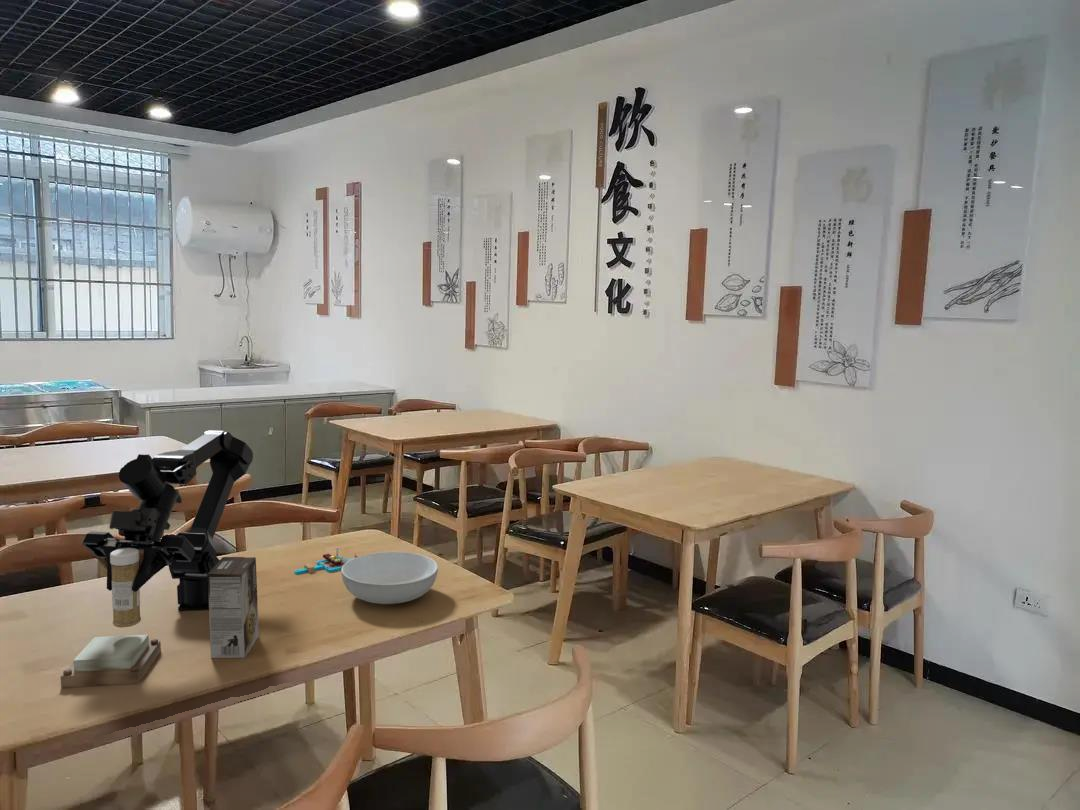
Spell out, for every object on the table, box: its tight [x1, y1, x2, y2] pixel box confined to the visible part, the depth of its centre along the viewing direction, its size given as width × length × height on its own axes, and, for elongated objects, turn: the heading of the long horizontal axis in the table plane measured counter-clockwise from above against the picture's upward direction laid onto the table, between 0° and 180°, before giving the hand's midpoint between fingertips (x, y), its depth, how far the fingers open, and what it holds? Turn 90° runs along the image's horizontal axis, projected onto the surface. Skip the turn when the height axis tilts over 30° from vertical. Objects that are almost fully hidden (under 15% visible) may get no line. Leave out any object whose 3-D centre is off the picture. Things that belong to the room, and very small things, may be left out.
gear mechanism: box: [293, 547, 364, 575], centre depth 189 cm, size 20×5×9 cm
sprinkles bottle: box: [110, 548, 142, 629], centre depth 138 cm, size 5×5×14 cm
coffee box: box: [207, 556, 260, 659], centre depth 143 cm, size 9×6×16 cm
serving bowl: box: [340, 551, 439, 605], centre depth 170 cm, size 21×21×7 cm
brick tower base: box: [59, 634, 162, 689], centre depth 135 cm, size 12×12×4 cm
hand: (121, 590), depth 136 cm, fingers closed on sprinkles bottle, 4 cm apart
